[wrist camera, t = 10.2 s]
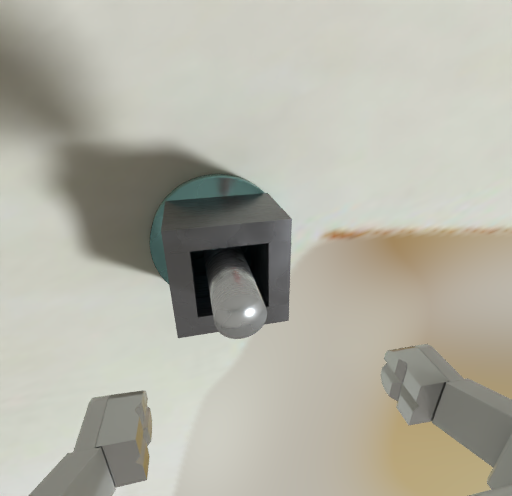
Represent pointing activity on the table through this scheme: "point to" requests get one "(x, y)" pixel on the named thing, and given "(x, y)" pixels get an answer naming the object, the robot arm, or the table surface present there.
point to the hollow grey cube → (222, 236)
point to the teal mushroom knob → (219, 261)
